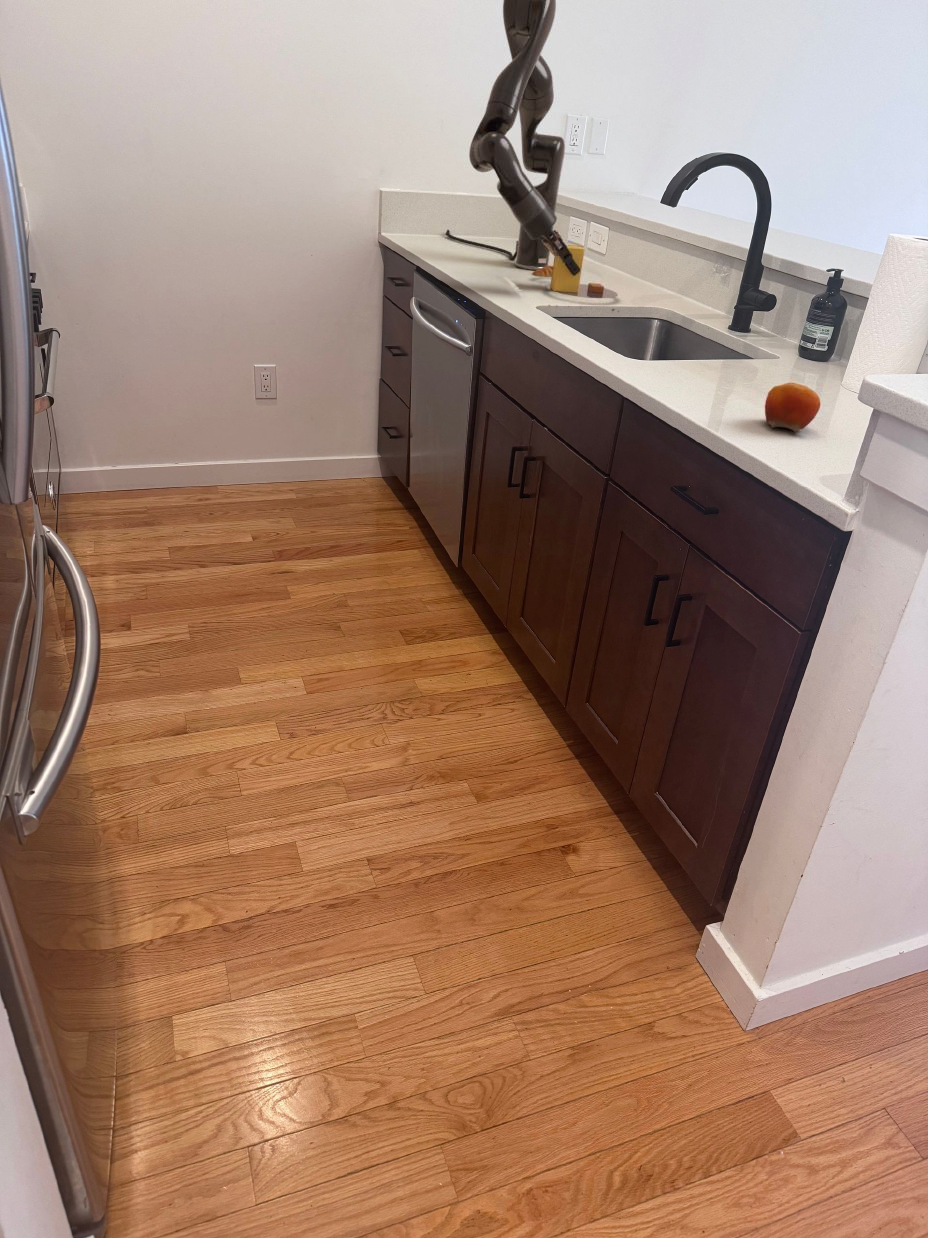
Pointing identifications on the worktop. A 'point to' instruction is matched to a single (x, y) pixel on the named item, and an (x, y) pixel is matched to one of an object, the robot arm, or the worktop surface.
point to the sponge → (567, 272)
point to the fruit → (791, 406)
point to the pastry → (544, 271)
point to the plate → (588, 292)
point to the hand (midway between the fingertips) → (574, 270)
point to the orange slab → (595, 288)
